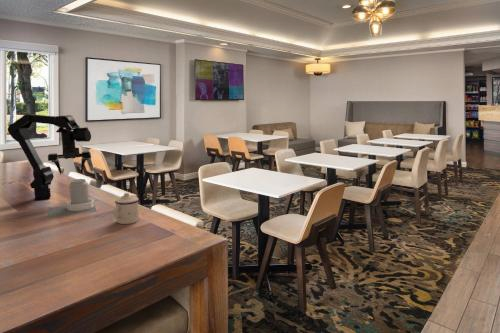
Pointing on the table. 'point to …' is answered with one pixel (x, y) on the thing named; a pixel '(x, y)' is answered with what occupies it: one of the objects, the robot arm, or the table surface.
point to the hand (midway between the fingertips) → (71, 173)
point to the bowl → (80, 206)
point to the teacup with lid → (126, 209)
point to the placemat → (66, 211)
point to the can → (79, 191)
